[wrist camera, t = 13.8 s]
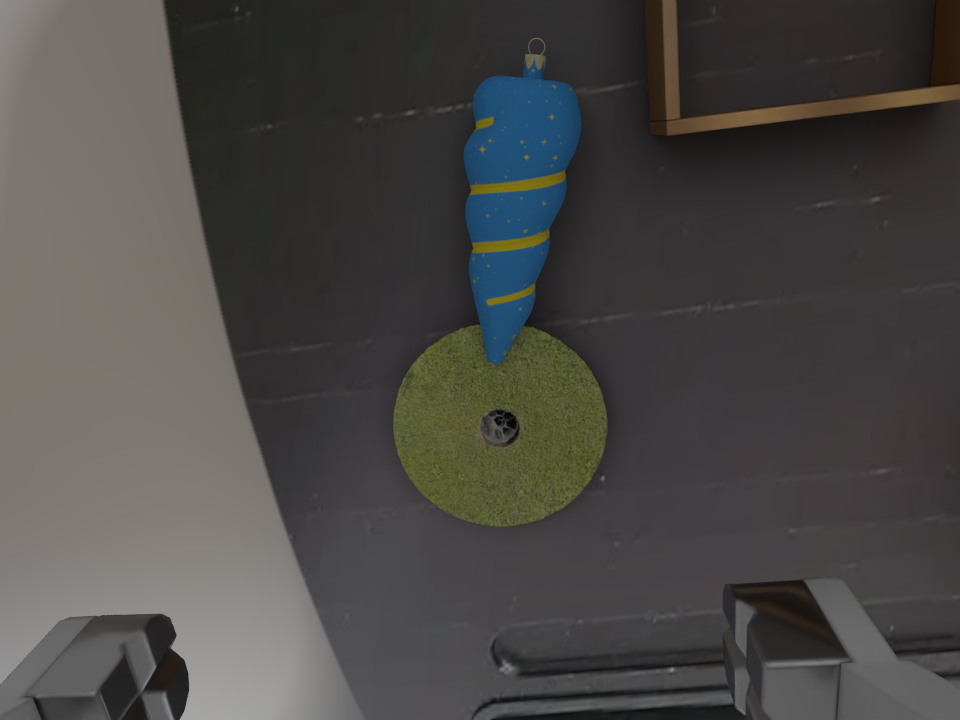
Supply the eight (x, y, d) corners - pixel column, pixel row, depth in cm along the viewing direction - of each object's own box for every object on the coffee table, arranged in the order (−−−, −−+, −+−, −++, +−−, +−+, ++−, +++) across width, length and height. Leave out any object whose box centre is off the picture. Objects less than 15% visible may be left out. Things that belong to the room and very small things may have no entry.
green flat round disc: (357, 420, 39) (349, 431, 37) (495, 272, 37) (493, 276, 35) (504, 549, 40) (503, 566, 38) (646, 414, 38) (652, 425, 36)
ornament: (447, 343, 37) (471, 36, 32) (542, 350, 38) (581, 48, 33) (446, 379, 33) (475, 25, 27) (556, 386, 33) (604, 38, 28)
